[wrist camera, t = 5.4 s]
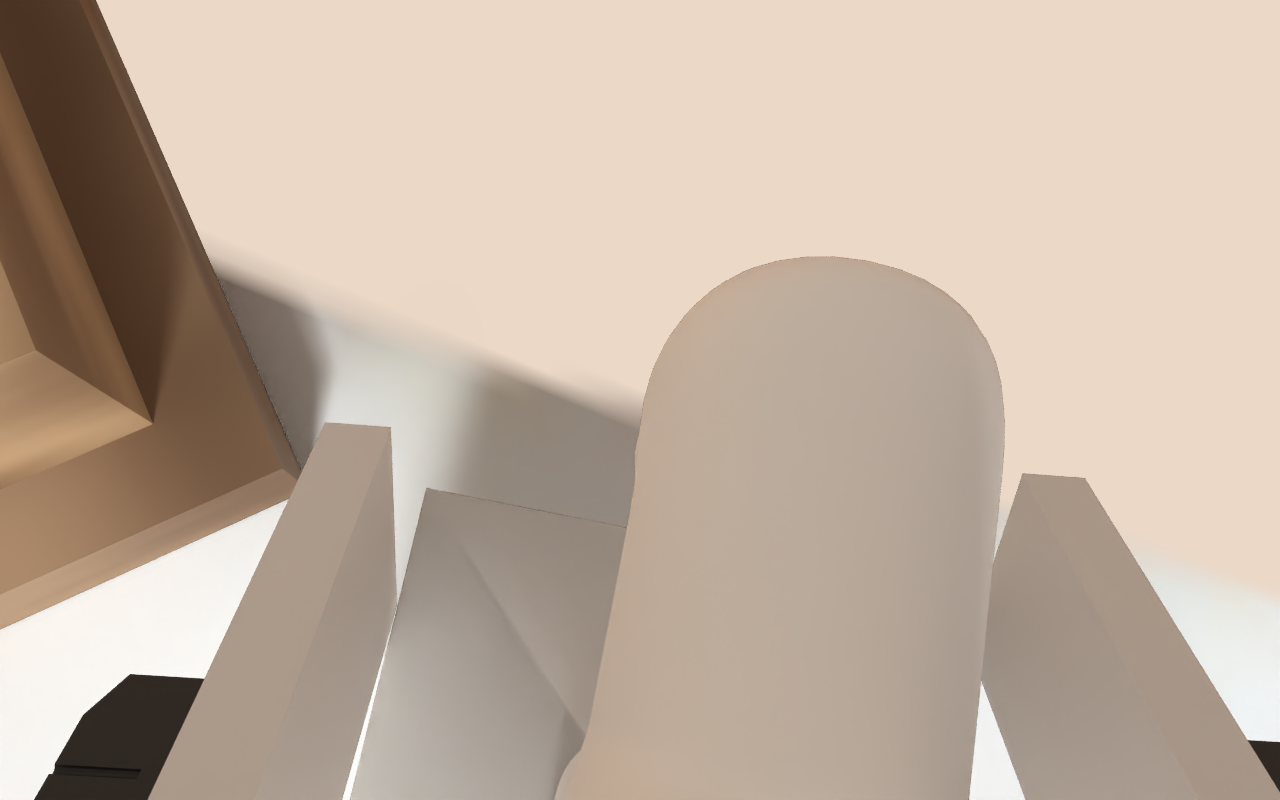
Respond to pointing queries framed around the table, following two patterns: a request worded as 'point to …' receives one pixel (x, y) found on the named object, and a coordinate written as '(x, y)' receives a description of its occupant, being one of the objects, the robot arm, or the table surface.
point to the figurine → (727, 574)
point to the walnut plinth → (159, 323)
